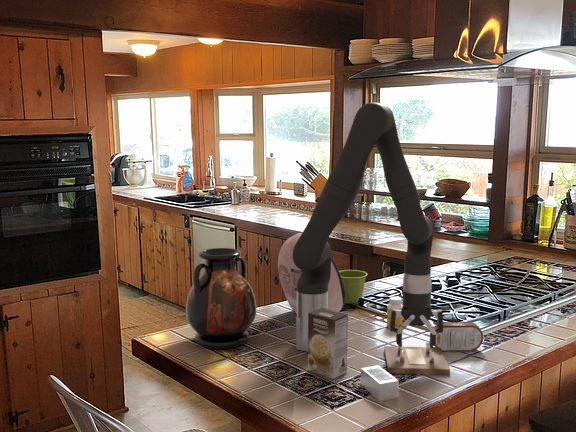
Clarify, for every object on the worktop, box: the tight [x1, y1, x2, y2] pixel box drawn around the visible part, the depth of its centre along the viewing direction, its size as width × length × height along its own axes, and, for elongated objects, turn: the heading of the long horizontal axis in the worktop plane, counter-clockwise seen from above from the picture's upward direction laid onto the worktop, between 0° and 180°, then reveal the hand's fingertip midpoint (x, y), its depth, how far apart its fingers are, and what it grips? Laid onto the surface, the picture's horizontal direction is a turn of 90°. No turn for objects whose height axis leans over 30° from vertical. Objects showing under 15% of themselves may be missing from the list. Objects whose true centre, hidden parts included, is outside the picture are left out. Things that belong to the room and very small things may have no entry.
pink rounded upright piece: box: [277, 232, 346, 314], centre depth 201 cm, size 22×20×30 cm
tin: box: [433, 321, 484, 353], centre depth 170 cm, size 15×3×8 cm, turn 91°
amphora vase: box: [185, 247, 257, 350], centre depth 179 cm, size 22×22×28 cm
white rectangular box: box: [360, 365, 400, 402], centre depth 144 cm, size 5×10×5 cm, turn 20°
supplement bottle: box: [386, 296, 404, 329], centre depth 191 cm, size 5×5×10 cm
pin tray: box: [383, 341, 451, 376], centre depth 162 cm, size 16×16×4 cm
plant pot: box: [339, 269, 369, 304], centre depth 219 cm, size 12×12×11 cm
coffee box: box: [307, 308, 349, 380], centre depth 155 cm, size 9×6×16 cm
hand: (415, 346), depth 162 cm, fingers open, 8 cm apart
